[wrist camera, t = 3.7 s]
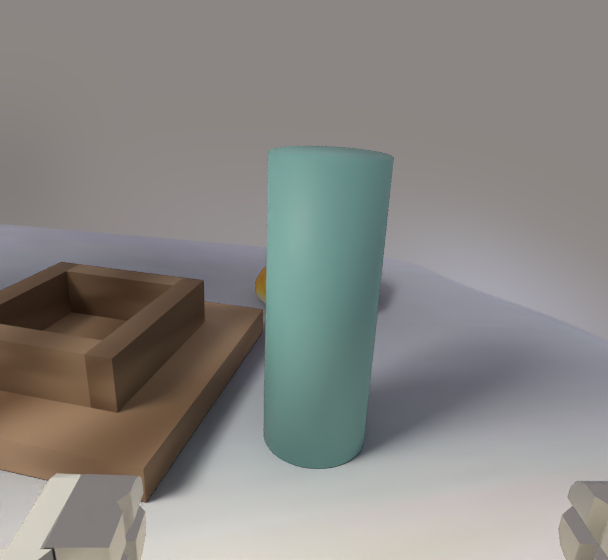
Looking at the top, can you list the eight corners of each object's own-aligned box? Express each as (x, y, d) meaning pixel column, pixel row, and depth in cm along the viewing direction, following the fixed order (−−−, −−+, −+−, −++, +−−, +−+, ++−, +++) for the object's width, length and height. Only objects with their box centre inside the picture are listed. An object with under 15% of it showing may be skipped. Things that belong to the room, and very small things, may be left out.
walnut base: (-164, 432, 21) (-195, 346, 20) (60, 302, 34) (52, 244, 32) (146, 502, 18) (137, 408, 17) (262, 331, 31) (263, 270, 30)
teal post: (249, 456, 21) (251, 157, 16) (279, 397, 25) (286, 143, 20) (356, 478, 20) (388, 167, 16) (369, 412, 24) (397, 151, 20)
